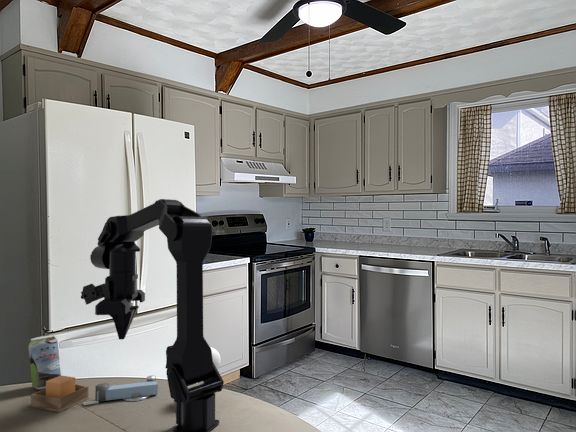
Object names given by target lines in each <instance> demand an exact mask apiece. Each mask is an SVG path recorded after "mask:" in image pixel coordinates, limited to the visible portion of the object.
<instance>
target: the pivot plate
mask: <svg viewBox="0 0 576 432" xmlns="http://www.w3.org/2000/svg"><path fill="white" fill-rule="evenodd" d="M150 397H151V395H147V396H141V397H136V398H132V397H130V398H122V400H123V401H126V402H139V401H144V400H146V399H149V398H150Z"/></svg>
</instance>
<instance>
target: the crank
mask: <svg viewBox="0 0 576 432" xmlns="http://www.w3.org/2000/svg"><path fill="white" fill-rule="evenodd" d="M158 384H159V383H158V380H156V381H151V382H147V381H142V382H134V383H125V384H116V385H110V383H107V382H103V383H98V384H96V385H95V393H94V395H95V400H96V401H99V402H104V401H105V402H106V401H111V400H121V399H122V398H130V397H132V398H136V397H141V396H147V395H150V396H154V395H158V394H159V393H158V391H159V390H158V386H159V385H158ZM95 400H94V401H95ZM122 400H123V399H122Z"/></svg>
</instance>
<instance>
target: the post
mask: <svg viewBox="0 0 576 432" xmlns="http://www.w3.org/2000/svg"><path fill="white" fill-rule="evenodd" d="M156 379H157V377H156V375H148V376H146V382H151V381H157V380H156Z"/></svg>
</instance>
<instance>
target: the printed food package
mask: <svg viewBox="0 0 576 432" xmlns="http://www.w3.org/2000/svg"><path fill="white" fill-rule="evenodd" d="M59 353H60V352H59V343H58V339H57V338H56V336H55V335H54V334H48V335H41V336H37V337H34V338H30V342H29V344H28V355H29V366H30V377H31V387H32V388H34V389H36V390H43V389H46V381H48V380H51V379H54V378H56V377H59V376H62V375H61V374H62V372H61V363H60V354H59Z"/></svg>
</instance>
